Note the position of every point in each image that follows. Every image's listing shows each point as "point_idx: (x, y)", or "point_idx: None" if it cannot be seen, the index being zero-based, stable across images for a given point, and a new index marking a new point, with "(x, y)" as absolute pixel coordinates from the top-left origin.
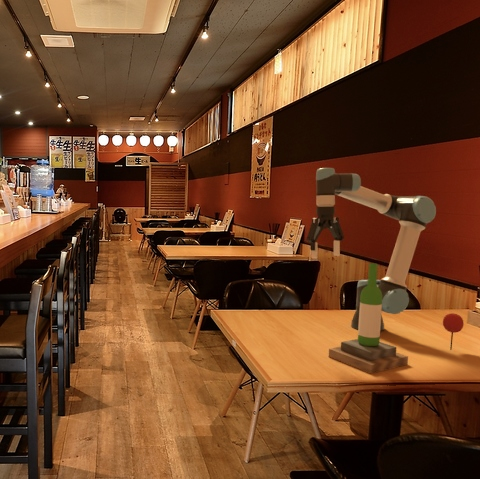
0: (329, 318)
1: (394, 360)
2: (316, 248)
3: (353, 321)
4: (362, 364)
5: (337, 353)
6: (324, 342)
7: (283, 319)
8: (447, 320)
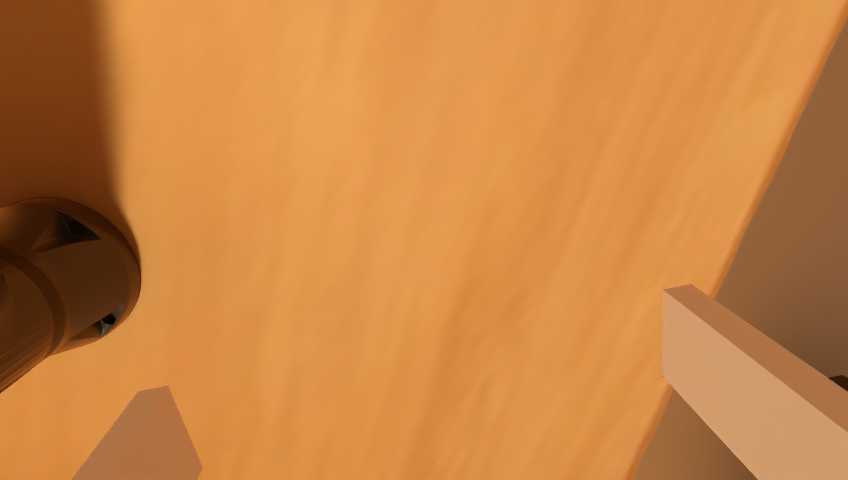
0: None
1: None
2: (822, 385)
3: (121, 301)
4: None
5: None
6: (415, 139)
7: (373, 472)
8: None
